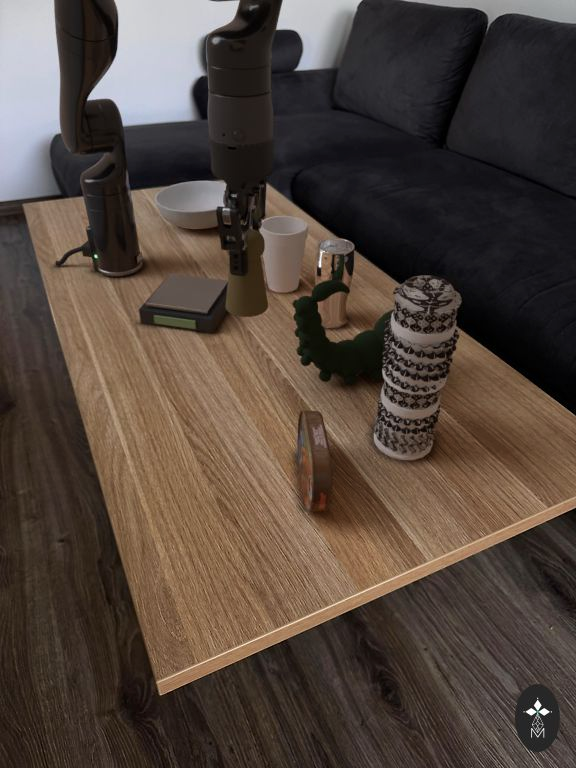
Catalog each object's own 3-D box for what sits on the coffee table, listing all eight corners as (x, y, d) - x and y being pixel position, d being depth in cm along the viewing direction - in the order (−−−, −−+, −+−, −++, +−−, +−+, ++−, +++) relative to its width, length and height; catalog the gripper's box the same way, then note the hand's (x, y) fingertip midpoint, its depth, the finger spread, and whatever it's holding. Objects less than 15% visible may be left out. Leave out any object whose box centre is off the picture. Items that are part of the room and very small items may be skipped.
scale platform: (145, 306, 108) (145, 302, 108) (171, 276, 118) (170, 273, 117) (207, 314, 106) (207, 311, 106) (228, 284, 115) (228, 280, 115)
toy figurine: (307, 406, 94) (456, 377, 96) (299, 303, 82) (469, 273, 84) (295, 371, 101) (434, 345, 104) (285, 272, 89) (443, 245, 92)
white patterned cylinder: (399, 471, 80) (427, 312, 65) (358, 432, 86) (374, 278, 71) (448, 447, 84) (486, 291, 69) (405, 411, 90) (431, 261, 75)
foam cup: (270, 300, 117) (269, 238, 109) (253, 279, 124) (251, 220, 116) (313, 290, 120) (316, 230, 112) (294, 271, 127) (295, 212, 119)
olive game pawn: (275, 300, 84) (275, 227, 78) (256, 321, 80) (254, 245, 73) (238, 291, 86) (235, 219, 80) (217, 310, 82) (212, 236, 75)
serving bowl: (172, 204, 157) (169, 178, 153) (249, 209, 155) (248, 182, 151) (146, 236, 141) (142, 207, 137) (232, 241, 139) (231, 213, 134)
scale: (140, 324, 109) (137, 310, 108) (170, 288, 121) (168, 274, 119) (211, 334, 107) (210, 320, 105) (235, 296, 118) (235, 283, 116)
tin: (295, 442, 85) (296, 397, 79) (317, 441, 85) (319, 396, 80) (307, 526, 73) (309, 479, 68) (332, 525, 73) (336, 477, 68)
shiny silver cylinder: (346, 331, 108) (353, 256, 99) (309, 327, 109) (312, 252, 100) (351, 312, 113) (357, 239, 104) (315, 308, 115) (318, 235, 105)
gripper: (229, 114, 75) (234, 239, 85) (188, 147, 64) (200, 286, 74) (287, 118, 74) (285, 245, 84) (255, 153, 63) (257, 294, 73)
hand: (245, 264), depth 79 cm, fingers closed on olive game pawn, 5 cm apart
